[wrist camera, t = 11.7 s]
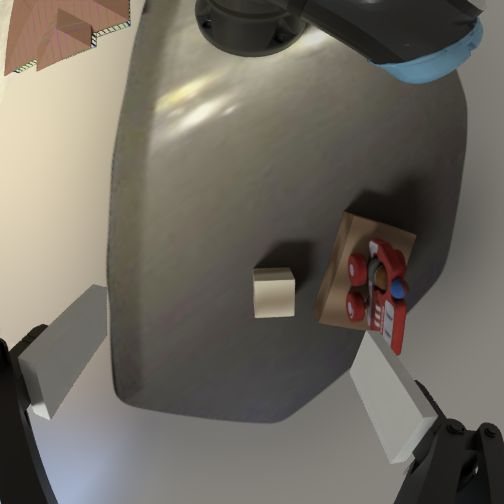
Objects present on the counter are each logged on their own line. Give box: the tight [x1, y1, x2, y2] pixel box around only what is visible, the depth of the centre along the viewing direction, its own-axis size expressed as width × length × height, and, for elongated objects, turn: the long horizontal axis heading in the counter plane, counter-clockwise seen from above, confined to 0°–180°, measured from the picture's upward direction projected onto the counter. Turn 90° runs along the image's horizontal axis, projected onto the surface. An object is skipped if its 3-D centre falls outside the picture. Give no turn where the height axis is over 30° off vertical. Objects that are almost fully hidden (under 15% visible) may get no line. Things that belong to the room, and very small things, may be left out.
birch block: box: [253, 267, 295, 318], centre depth 41 cm, size 5×5×5 cm
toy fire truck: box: [346, 238, 409, 356], centre depth 35 cm, size 7×12×10 cm, turn 4°
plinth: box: [313, 211, 416, 331], centre depth 42 cm, size 15×10×4 cm, turn 166°
